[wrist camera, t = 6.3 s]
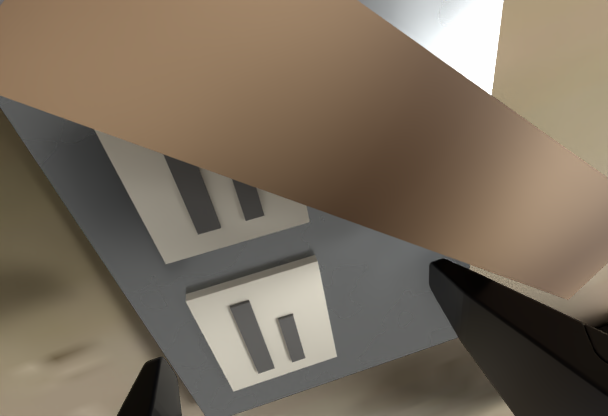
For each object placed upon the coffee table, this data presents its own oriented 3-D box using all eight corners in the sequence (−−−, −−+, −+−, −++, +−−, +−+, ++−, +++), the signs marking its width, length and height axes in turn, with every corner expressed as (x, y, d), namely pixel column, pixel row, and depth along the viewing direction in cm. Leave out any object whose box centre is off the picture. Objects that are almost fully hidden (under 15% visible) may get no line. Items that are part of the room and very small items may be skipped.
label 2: (334, 349, 14) (337, 358, 14) (232, 383, 14) (233, 394, 13) (314, 254, 11) (318, 263, 11) (185, 294, 11) (185, 304, 11)
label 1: (307, 216, 10) (310, 224, 10) (166, 257, 10) (165, 266, 10) (267, 24, 8) (271, 26, 7) (68, 69, 7) (62, 75, 7)
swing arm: (574, 169, 11) (681, 225, 9) (506, 244, 12) (583, 313, 10) (-198, -351, 4) (-828, -863, 2) (-193, -54, 5) (-549, -72, 3)
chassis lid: (450, 322, 17) (466, 344, 16) (209, 403, 15) (210, 433, 14) (513, -342, 6) (572, -400, 5) (-201, -249, 5) (-294, -302, 4)
